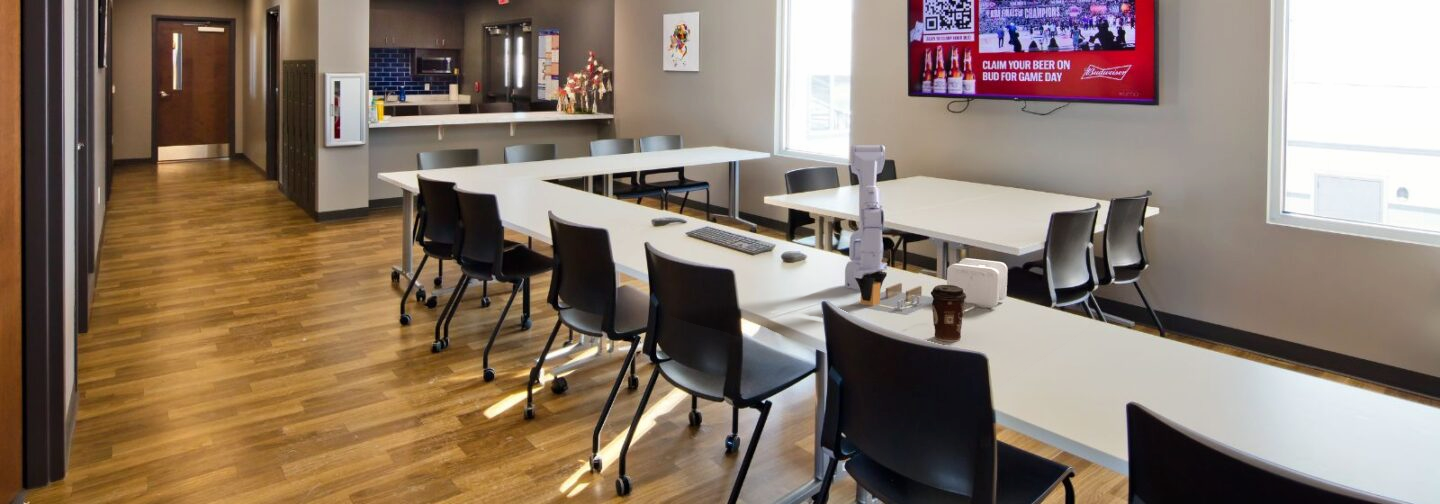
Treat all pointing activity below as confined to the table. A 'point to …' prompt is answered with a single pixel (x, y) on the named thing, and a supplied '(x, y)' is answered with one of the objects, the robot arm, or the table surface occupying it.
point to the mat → (898, 303)
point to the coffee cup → (948, 312)
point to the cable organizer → (979, 281)
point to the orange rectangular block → (873, 295)
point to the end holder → (897, 290)
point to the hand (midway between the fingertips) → (870, 298)
